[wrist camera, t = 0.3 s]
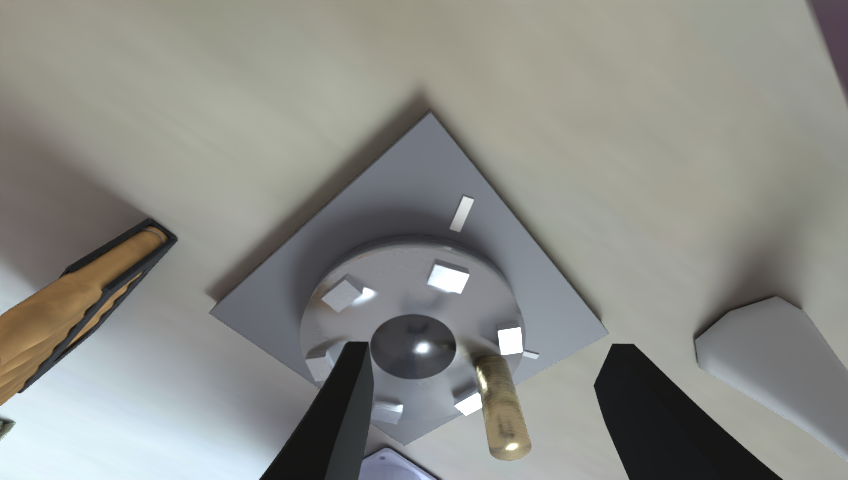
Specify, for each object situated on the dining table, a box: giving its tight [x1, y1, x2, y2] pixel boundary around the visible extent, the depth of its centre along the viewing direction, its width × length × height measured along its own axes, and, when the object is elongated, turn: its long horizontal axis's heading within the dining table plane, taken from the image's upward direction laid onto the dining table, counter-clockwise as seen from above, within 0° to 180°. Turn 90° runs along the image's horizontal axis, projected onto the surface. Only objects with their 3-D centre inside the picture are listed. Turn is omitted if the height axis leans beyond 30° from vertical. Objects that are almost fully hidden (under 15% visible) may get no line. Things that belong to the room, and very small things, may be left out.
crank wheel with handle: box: [300, 235, 531, 461], centre depth 19 cm, size 13×13×7 cm
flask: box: [695, 296, 848, 462], centre depth 20 cm, size 7×7×10 cm
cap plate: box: [209, 110, 609, 446], centre depth 22 cm, size 18×18×1 cm
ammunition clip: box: [0, 218, 177, 406], centre depth 16 cm, size 11×2×12 cm, turn 132°
